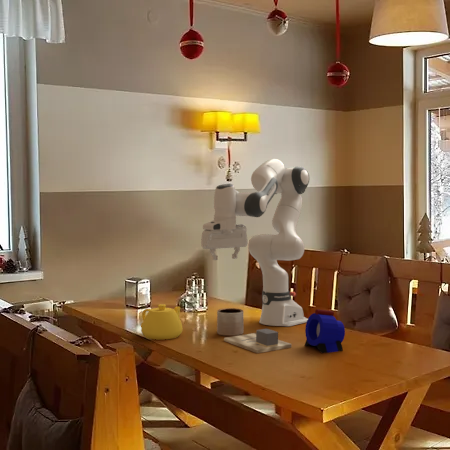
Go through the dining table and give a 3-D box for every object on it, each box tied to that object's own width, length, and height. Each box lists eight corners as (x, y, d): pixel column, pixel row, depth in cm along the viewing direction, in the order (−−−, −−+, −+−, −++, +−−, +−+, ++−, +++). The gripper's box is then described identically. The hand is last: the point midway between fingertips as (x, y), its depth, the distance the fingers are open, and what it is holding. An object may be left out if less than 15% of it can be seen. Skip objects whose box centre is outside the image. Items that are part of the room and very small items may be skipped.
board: (257, 335, 261) (257, 332, 261) (291, 347, 242) (291, 344, 242) (223, 340, 252) (223, 337, 252) (257, 353, 234) (257, 350, 234)
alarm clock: (302, 345, 245) (303, 306, 244) (330, 342, 249) (330, 304, 249) (320, 353, 233) (320, 312, 232) (348, 350, 238) (349, 310, 237)
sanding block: (266, 341, 246) (266, 328, 246) (278, 345, 240) (278, 332, 240) (256, 343, 243) (256, 330, 243) (267, 347, 238) (267, 333, 237)
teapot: (165, 342, 250) (165, 310, 249) (128, 336, 259) (128, 305, 259) (195, 332, 266) (195, 302, 266) (159, 327, 276) (158, 297, 276)
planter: (249, 333, 265) (249, 310, 264) (231, 338, 257) (231, 314, 256) (229, 329, 272) (229, 306, 271) (211, 333, 264) (211, 310, 264)
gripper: (241, 223, 266) (241, 256, 267) (199, 225, 255) (199, 260, 256) (250, 224, 261) (250, 258, 262) (207, 226, 249) (207, 261, 250)
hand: (224, 259), depth 258 cm, fingers open, 8 cm apart
